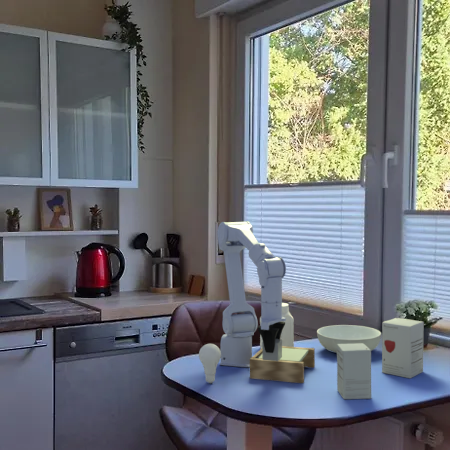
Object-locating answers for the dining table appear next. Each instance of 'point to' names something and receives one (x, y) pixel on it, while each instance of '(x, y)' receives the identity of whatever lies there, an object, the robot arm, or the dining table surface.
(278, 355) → the gray block
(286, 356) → the hatch
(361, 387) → the supplement box
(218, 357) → the lightbulb
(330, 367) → the dining table surface
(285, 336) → the jar
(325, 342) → the serving bowl
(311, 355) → the hatch frame
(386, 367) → the supplement box
